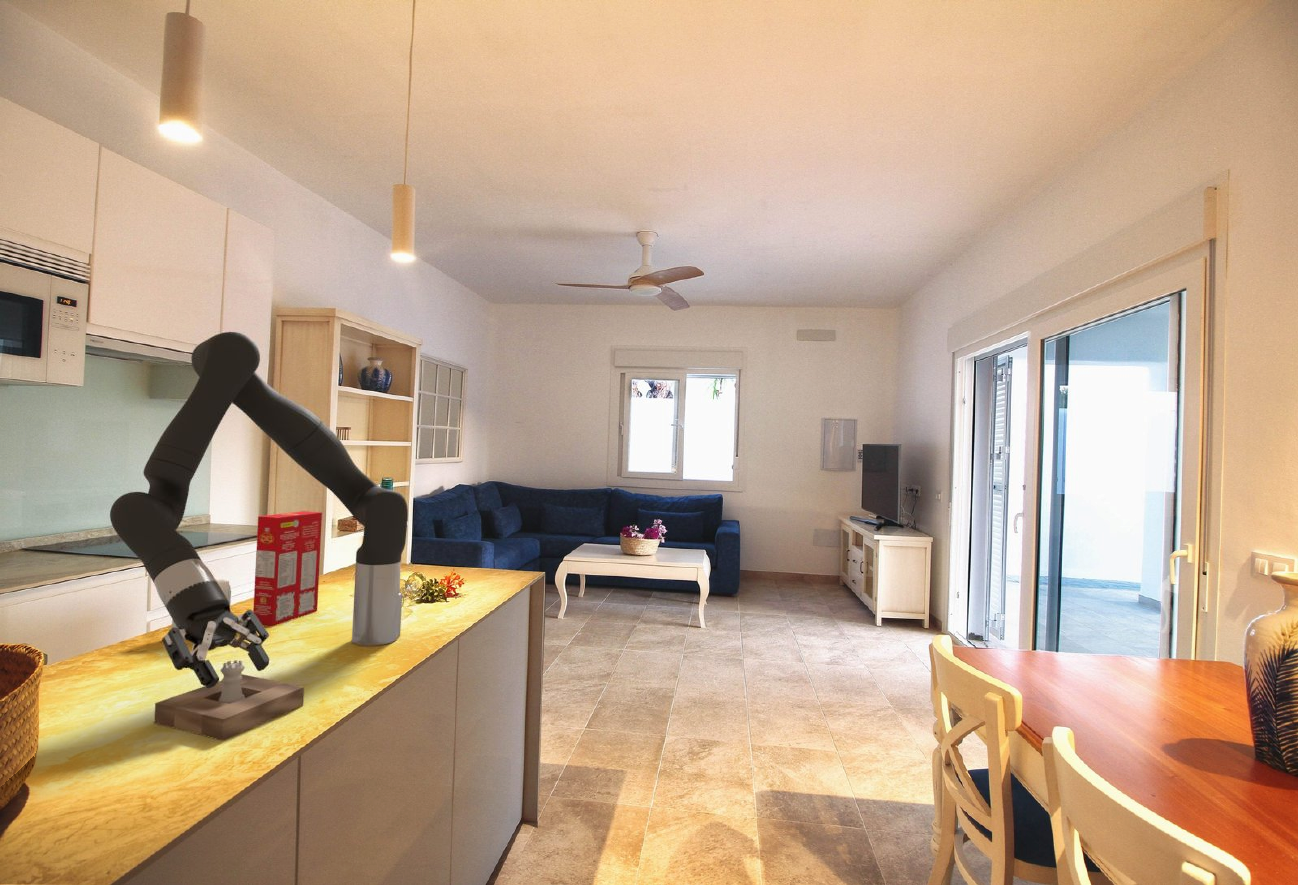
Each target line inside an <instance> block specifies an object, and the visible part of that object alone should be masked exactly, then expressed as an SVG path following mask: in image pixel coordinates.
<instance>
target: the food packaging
mask: <svg viewBox="0 0 1298 885" xmlns="http://www.w3.org/2000/svg"><path fill="white" fill-rule="evenodd" d="M322 521H323V512H322V511H308V510H307V511H305V510H302V511H294V512H293V511H292V512H285V513H275V514H268V515H267V514H266V515H259V516H258V518H257V530H256V531H257V534H256V554H255V569H254V570H255V572H254V589H253V590H254V591H253V592H254V594H253V607H252V608H253V610H252V611H253V612H254V614H255V615H256V616H257V618H258V619H259V621H260V622H261V624H262V625H263V626H266V627H274V626H278V625H281V624H283V623H287V622H290V621H292V620H291V619H293V620H296V619H298V617H299V618H301V616H302V617H305V616H308V615H310V614H313V613H317V612H318V605H319V604H318V603H319V602H318V600H319V582H320V580H319V579H320V566H321V565H320V564H321V562H320V561H321V560H320V559H321V541H322V526H323V525H322ZM316 611H317V612H316ZM304 615H305V616H304ZM289 620H290V621H289ZM277 624H278V625H277Z"/></svg>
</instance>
